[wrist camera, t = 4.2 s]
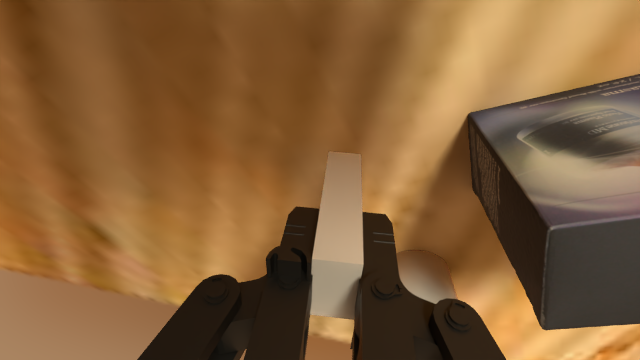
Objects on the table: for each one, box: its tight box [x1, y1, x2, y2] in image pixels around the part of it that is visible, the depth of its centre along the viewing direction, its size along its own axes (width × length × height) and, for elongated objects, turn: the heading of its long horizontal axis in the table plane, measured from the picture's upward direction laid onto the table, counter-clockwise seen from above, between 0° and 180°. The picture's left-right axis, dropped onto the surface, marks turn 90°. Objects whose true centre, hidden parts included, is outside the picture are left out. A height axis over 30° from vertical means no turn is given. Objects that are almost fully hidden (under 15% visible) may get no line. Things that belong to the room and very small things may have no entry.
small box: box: [468, 74, 640, 330], centre depth 15 cm, size 11×6×10 cm, turn 108°
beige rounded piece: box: [396, 250, 458, 304], centre depth 25 cm, size 6×6×6 cm
